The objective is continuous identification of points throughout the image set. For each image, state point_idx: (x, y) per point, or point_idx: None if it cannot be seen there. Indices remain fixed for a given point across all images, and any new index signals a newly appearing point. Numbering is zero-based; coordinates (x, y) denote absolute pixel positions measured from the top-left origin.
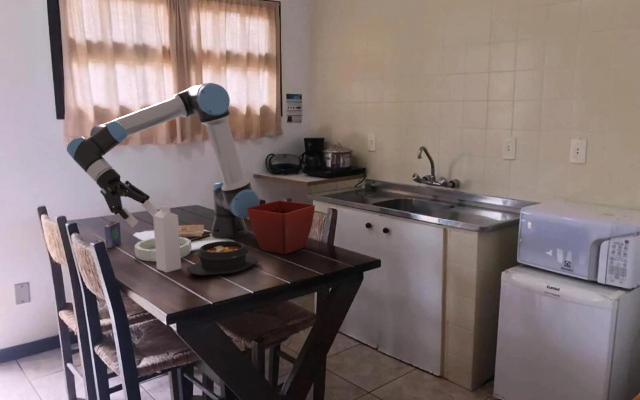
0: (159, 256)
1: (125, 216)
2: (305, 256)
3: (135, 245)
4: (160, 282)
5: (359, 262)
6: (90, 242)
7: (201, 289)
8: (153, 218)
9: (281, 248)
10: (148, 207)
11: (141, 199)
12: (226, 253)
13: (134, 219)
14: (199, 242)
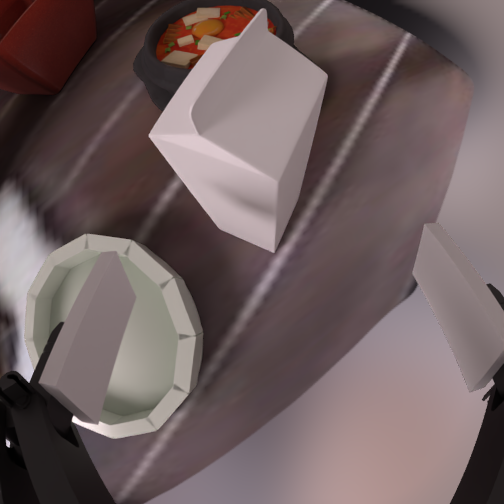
0: (286, 219)
1: (496, 296)
2: (108, 11)
3: (149, 429)
4: (377, 167)
5: None
6: None
7: (368, 61)
8: (279, 187)
9: (94, 29)
10: (95, 354)
11: (67, 445)
12: (268, 2)
13: (452, 240)
14: (9, 284)
